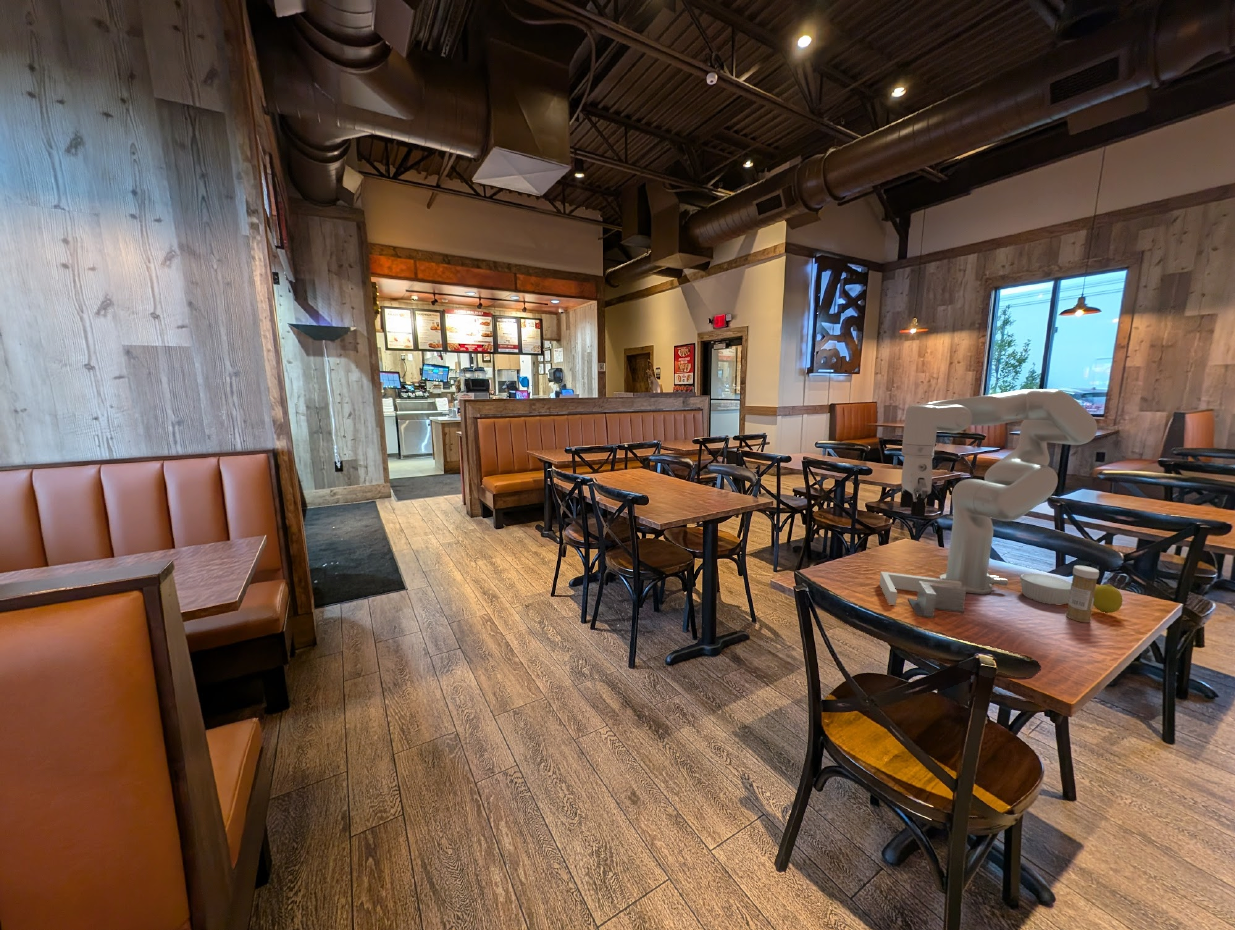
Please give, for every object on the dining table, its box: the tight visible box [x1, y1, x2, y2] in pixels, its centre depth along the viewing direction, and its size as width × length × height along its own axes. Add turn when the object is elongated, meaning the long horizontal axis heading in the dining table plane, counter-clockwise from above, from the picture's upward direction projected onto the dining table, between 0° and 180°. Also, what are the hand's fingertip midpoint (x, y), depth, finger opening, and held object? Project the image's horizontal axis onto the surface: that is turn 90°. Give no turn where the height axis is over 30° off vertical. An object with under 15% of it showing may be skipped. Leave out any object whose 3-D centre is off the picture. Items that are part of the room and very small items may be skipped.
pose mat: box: [907, 598, 966, 619], centre depth 122 cm, size 12×10×1 cm
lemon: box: [1093, 583, 1123, 614], centre depth 121 cm, size 6×6×8 cm
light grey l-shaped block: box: [879, 571, 962, 607], centre depth 128 cm, size 20×15×4 cm
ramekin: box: [1019, 572, 1072, 605], centre depth 130 cm, size 11×11×5 cm
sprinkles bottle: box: [1065, 565, 1100, 623], centre depth 118 cm, size 5×5×13 cm
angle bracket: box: [916, 581, 967, 616], centre depth 121 cm, size 10×8×6 cm
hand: (911, 511), depth 131 cm, fingers open, 9 cm apart
